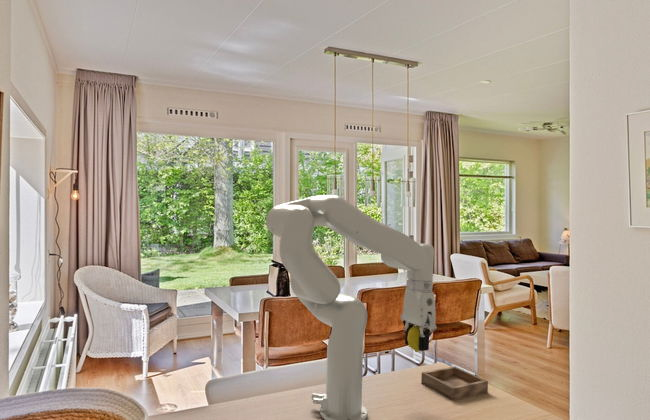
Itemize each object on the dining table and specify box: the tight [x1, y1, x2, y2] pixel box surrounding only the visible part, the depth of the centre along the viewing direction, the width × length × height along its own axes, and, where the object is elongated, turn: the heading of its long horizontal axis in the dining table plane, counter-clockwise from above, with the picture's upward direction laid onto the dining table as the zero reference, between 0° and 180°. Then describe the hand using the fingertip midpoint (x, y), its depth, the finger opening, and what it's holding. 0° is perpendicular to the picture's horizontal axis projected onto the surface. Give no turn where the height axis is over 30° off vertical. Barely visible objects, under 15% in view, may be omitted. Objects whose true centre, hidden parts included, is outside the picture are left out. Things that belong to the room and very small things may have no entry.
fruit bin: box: [420, 366, 489, 401], centre depth 139 cm, size 14×14×4 cm
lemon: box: [407, 325, 426, 353], centre depth 131 cm, size 6×6×8 cm
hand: (416, 346), depth 131 cm, fingers closed on lemon, 5 cm apart
